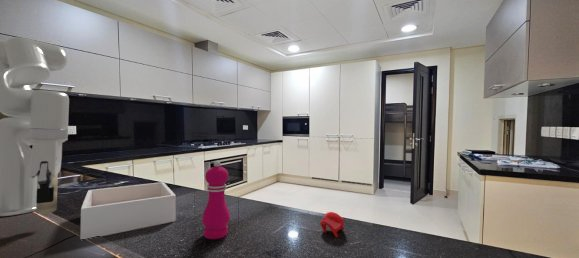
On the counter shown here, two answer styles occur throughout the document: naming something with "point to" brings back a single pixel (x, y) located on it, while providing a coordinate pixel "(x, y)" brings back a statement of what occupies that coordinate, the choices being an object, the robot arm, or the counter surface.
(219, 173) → the pepper mill
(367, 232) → the counter surface
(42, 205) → the peg
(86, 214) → the box
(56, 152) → the robot arm
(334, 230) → the red toy chair
